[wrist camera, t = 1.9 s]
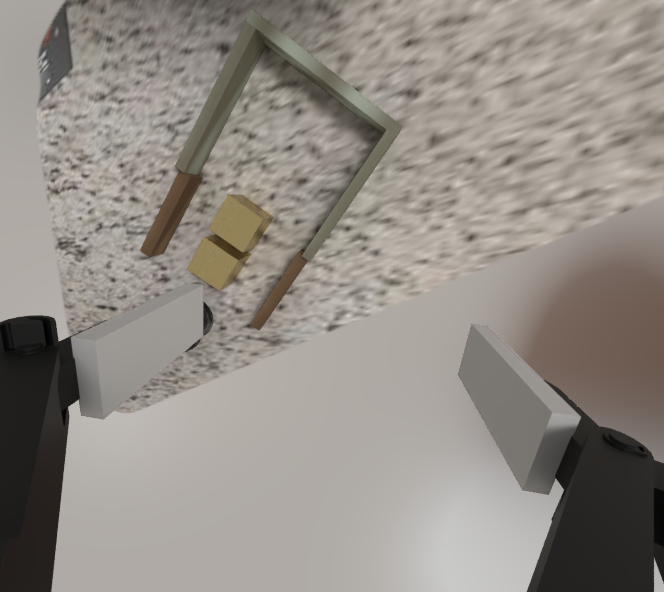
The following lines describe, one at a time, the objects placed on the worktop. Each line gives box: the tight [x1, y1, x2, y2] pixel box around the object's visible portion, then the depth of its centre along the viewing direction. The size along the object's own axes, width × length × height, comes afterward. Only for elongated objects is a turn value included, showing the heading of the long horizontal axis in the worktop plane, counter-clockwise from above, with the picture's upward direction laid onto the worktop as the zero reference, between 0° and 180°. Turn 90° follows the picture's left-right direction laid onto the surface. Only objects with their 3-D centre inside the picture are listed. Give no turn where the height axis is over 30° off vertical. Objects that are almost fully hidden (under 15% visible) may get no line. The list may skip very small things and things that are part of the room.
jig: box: [140, 9, 403, 330], centre depth 32 cm, size 16×25×3 cm, turn 145°
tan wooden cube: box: [187, 235, 251, 291], centre depth 34 cm, size 4×4×4 cm
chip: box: [209, 194, 274, 252], centre depth 33 cm, size 4×4×4 cm
